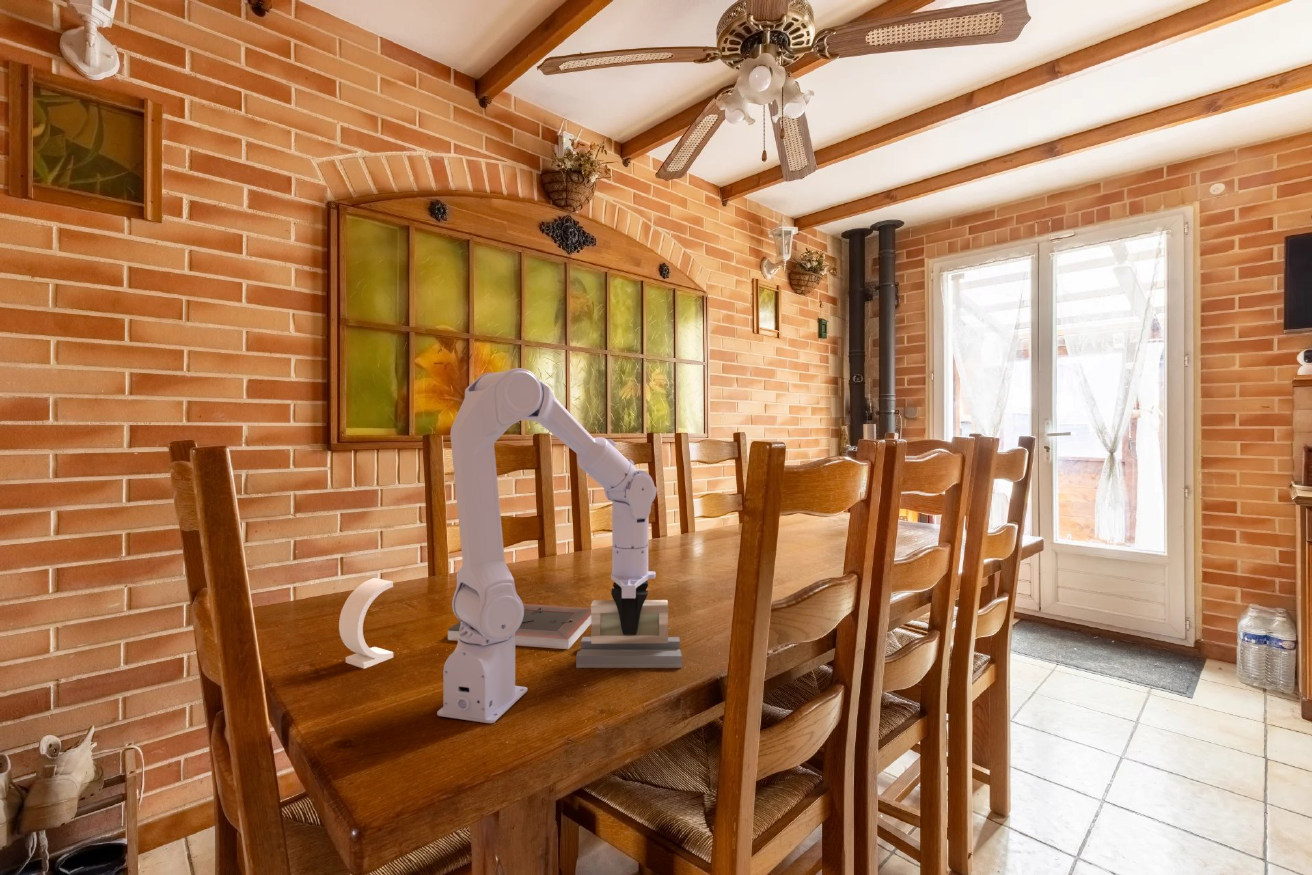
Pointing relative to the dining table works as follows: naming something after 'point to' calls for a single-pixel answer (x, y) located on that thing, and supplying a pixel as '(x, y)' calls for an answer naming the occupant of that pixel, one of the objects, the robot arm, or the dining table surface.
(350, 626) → the headphone stand
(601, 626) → the frame
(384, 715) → the dining table surface
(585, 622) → the picture frame
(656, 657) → the grooved channel
